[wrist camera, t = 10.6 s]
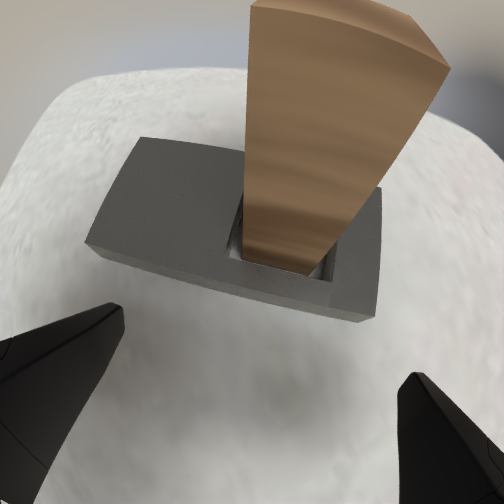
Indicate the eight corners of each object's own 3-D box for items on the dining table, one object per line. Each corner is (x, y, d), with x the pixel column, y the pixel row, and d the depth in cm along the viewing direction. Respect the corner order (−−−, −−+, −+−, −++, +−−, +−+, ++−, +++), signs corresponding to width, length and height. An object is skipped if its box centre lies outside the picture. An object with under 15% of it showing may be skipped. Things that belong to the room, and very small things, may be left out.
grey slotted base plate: (368, 205, 20) (381, 188, 17) (357, 322, 16) (374, 316, 14) (148, 157, 21) (140, 136, 18) (100, 256, 17) (84, 242, 15)
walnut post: (308, 275, 18) (450, 68, 4) (242, 259, 18) (250, 5, 4) (318, 217, 19) (410, 16, 5) (257, 202, 19) (283, -21, 5)
